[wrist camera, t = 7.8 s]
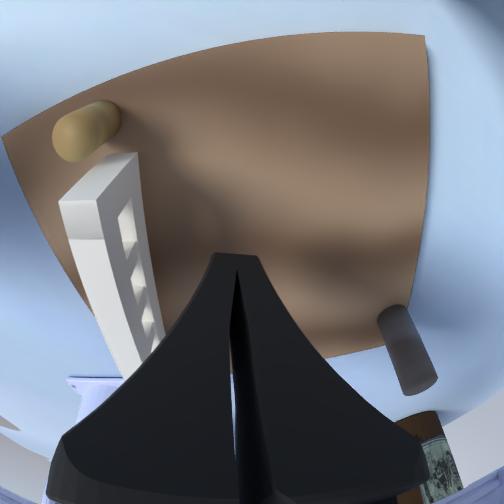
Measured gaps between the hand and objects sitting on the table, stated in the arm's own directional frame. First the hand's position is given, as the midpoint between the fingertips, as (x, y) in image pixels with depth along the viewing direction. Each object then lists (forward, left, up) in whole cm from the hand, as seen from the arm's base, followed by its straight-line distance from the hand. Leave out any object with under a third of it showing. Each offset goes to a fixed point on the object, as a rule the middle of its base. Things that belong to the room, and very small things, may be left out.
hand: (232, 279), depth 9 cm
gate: (-1, +5, -3) cm, 6 cm away
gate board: (-2, 0, -5) cm, 5 cm away
